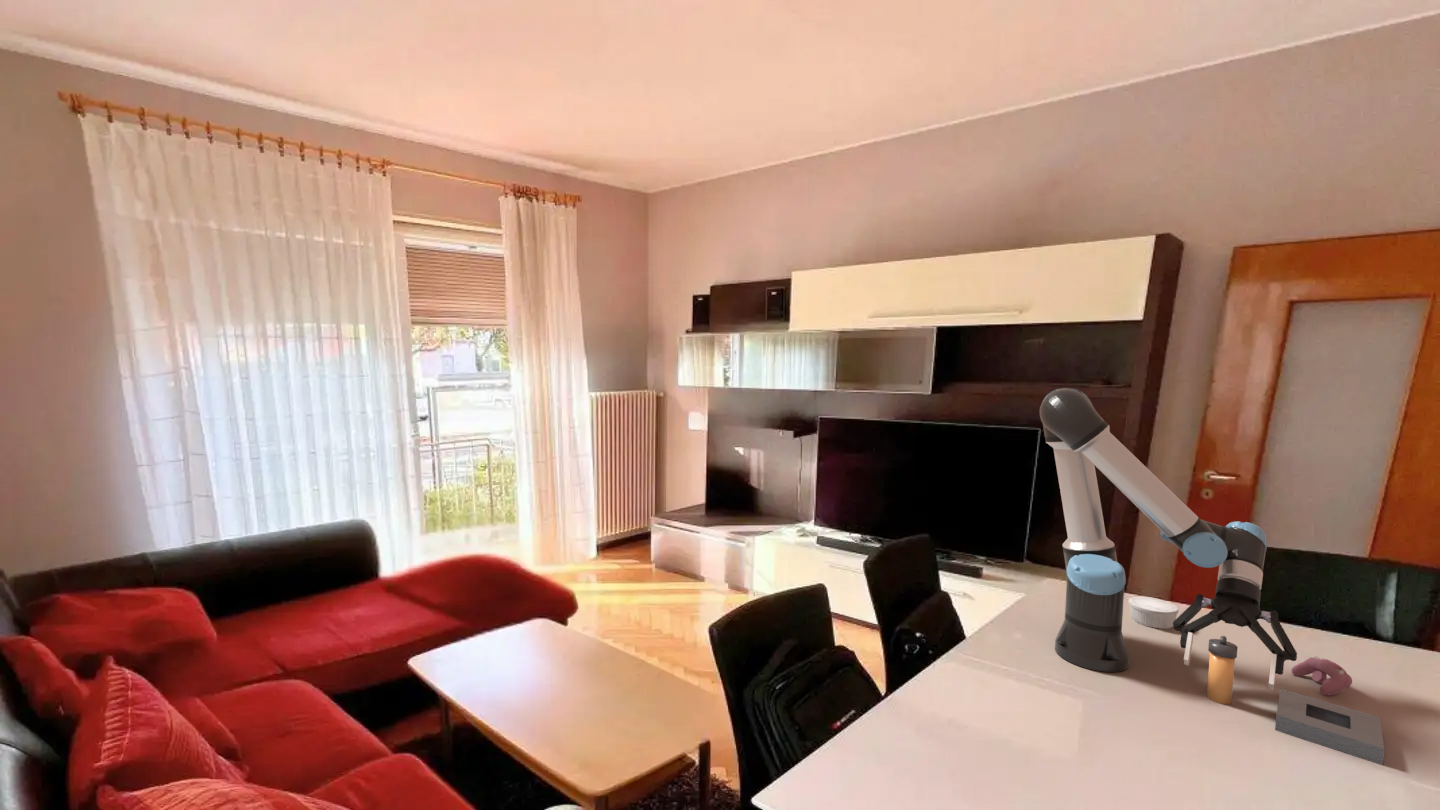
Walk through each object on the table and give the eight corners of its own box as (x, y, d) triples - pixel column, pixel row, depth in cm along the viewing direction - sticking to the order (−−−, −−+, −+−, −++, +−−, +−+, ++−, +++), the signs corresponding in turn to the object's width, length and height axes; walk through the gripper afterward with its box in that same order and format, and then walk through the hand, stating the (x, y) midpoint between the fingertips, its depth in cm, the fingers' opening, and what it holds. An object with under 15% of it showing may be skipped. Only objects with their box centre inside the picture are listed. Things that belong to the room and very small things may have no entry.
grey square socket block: (1275, 729, 116) (1276, 714, 116) (1279, 702, 126) (1280, 688, 126) (1382, 765, 106) (1384, 748, 106) (1378, 732, 116) (1379, 717, 116)
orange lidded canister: (1203, 698, 127) (1208, 635, 126) (1206, 690, 130) (1211, 629, 129) (1231, 707, 123) (1236, 643, 122) (1234, 699, 126) (1239, 636, 126)
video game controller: (1342, 705, 128) (1362, 678, 127) (1320, 693, 129) (1340, 667, 128) (1307, 681, 138) (1325, 656, 137) (1287, 671, 138) (1305, 646, 137)
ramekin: (1132, 626, 162) (1134, 607, 162) (1123, 611, 173) (1124, 593, 172) (1183, 634, 158) (1184, 614, 158) (1170, 618, 168) (1171, 599, 168)
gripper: (1315, 610, 128) (1309, 705, 119) (1171, 579, 146) (1155, 660, 136) (1317, 592, 124) (1311, 689, 115) (1169, 563, 142) (1152, 645, 132)
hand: (1227, 674), depth 125 cm, fingers open, 13 cm apart
